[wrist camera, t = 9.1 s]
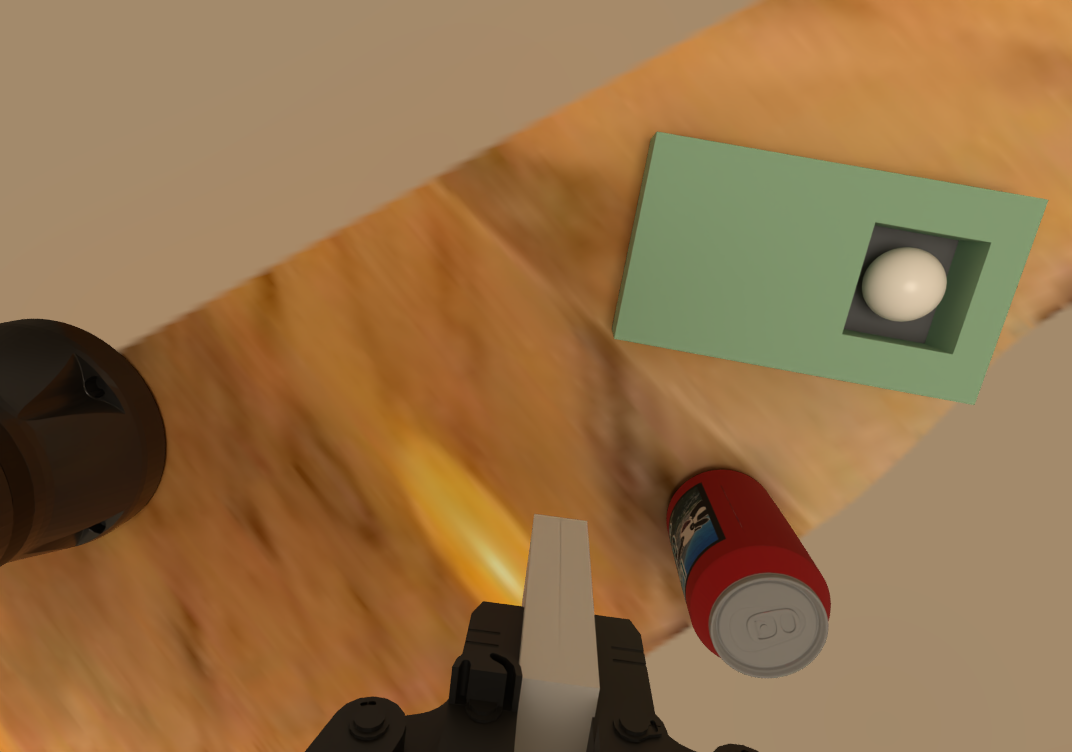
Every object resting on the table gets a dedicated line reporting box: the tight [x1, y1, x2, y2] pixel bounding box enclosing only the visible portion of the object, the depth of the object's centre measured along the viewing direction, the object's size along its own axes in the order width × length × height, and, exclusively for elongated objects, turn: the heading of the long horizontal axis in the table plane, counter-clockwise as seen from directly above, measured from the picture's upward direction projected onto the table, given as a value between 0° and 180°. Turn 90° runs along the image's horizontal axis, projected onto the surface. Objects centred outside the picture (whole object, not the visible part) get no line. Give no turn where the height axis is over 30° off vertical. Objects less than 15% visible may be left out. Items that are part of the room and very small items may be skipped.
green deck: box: [612, 132, 1048, 405], centre depth 36 cm, size 20×11×3 cm, turn 80°
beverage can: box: [666, 470, 831, 678], centre depth 36 cm, size 7×7×12 cm
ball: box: [862, 247, 947, 322], centre depth 35 cm, size 4×4×4 cm
